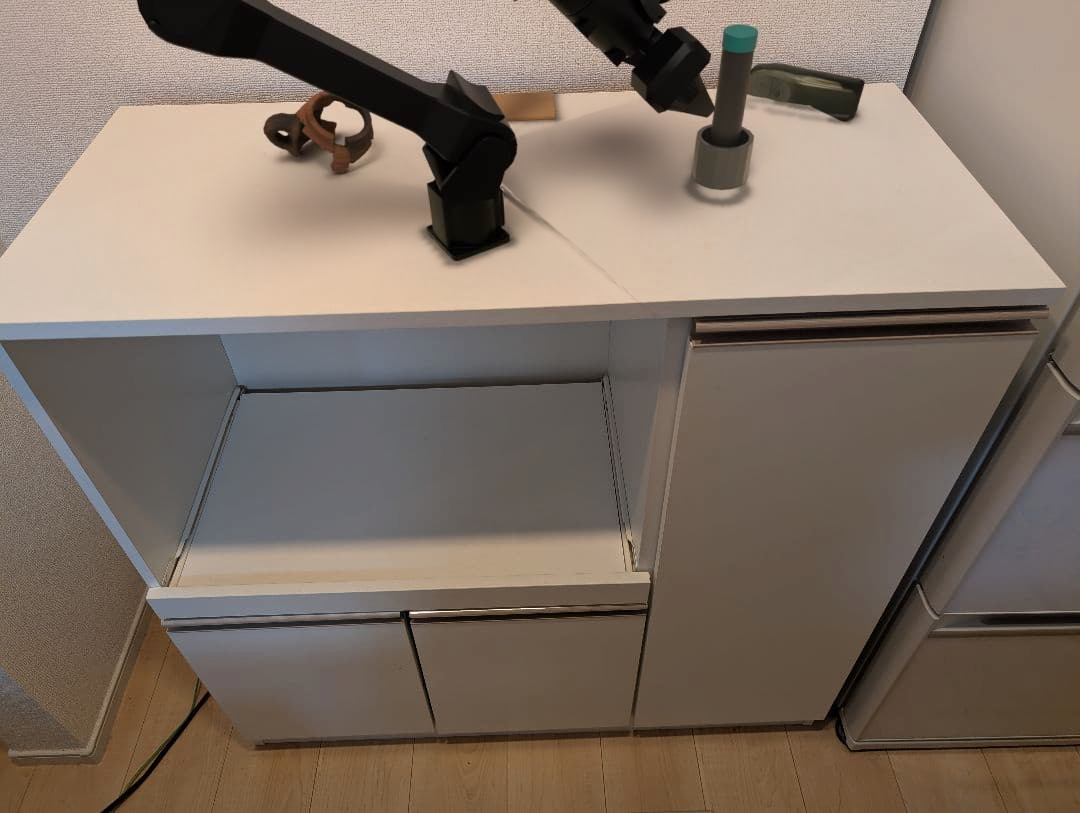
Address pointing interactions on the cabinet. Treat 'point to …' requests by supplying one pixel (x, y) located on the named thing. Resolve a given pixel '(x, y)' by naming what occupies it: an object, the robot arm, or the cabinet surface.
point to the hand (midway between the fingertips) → (689, 92)
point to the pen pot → (721, 161)
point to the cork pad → (526, 105)
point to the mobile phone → (807, 88)
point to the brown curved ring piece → (319, 131)
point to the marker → (733, 84)
